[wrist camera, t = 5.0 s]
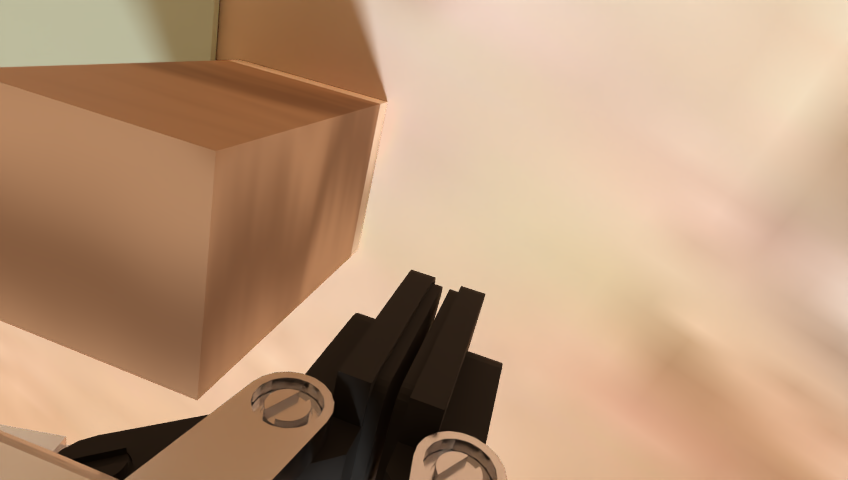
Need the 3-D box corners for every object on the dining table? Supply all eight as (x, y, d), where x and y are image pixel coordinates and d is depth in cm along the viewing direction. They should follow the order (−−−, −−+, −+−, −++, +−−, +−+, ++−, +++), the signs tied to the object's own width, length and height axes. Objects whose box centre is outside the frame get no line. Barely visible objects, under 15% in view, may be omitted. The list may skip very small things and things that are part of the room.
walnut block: (240, 59, 20) (-43, 68, 11) (387, 101, 19) (216, 151, 10) (227, 205, 22) (-14, 314, 13) (358, 249, 21) (196, 400, 12)
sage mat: (-73, -154, 20) (-82, -156, 20) (225, -82, 18) (219, -84, 18) (-30, 205, 26) (-36, 207, 26) (199, 289, 24) (195, 292, 24)
